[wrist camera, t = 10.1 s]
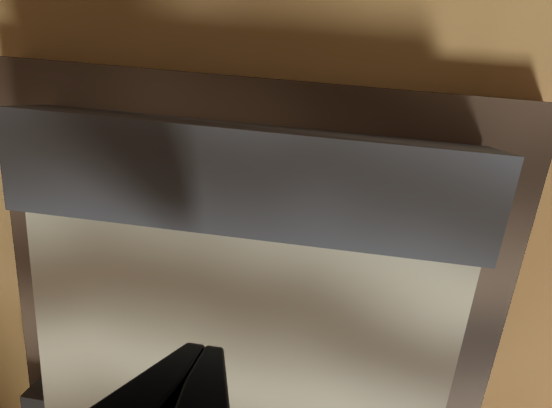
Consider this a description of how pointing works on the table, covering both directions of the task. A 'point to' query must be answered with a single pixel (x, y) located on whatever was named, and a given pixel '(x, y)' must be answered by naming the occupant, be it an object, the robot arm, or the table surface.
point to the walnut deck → (318, 116)
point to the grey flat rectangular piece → (251, 253)
